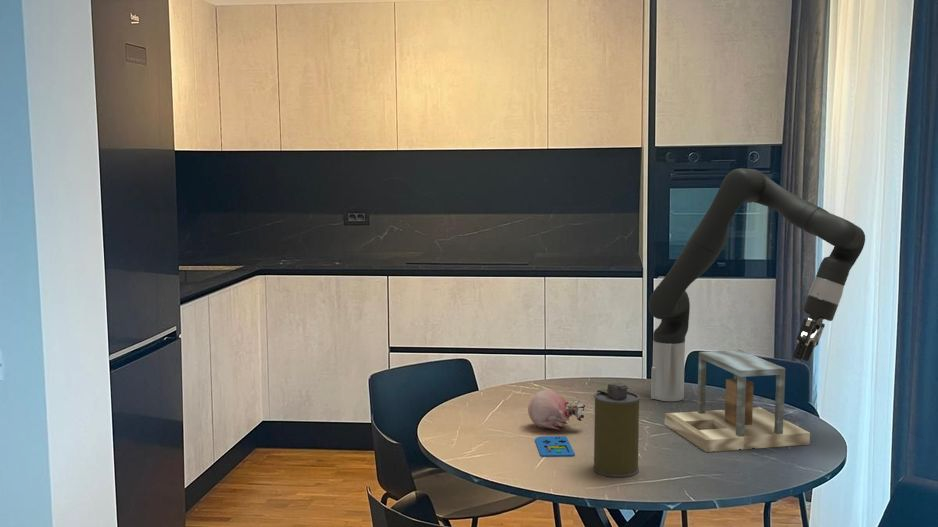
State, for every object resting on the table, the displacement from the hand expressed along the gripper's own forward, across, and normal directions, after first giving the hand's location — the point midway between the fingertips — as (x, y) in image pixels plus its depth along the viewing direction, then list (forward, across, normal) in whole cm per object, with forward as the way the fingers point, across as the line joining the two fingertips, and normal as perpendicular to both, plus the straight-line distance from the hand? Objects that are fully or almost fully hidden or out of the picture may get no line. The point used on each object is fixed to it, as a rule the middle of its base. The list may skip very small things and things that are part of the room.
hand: (800, 359), depth 231 cm
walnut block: (+21, -2, -9) cm, 23 cm away
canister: (+37, +39, -22) cm, 58 cm away
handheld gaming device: (+41, +31, -41) cm, 66 cm away
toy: (+39, +17, -49) cm, 65 cm away
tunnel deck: (+24, -2, -9) cm, 25 cm away
